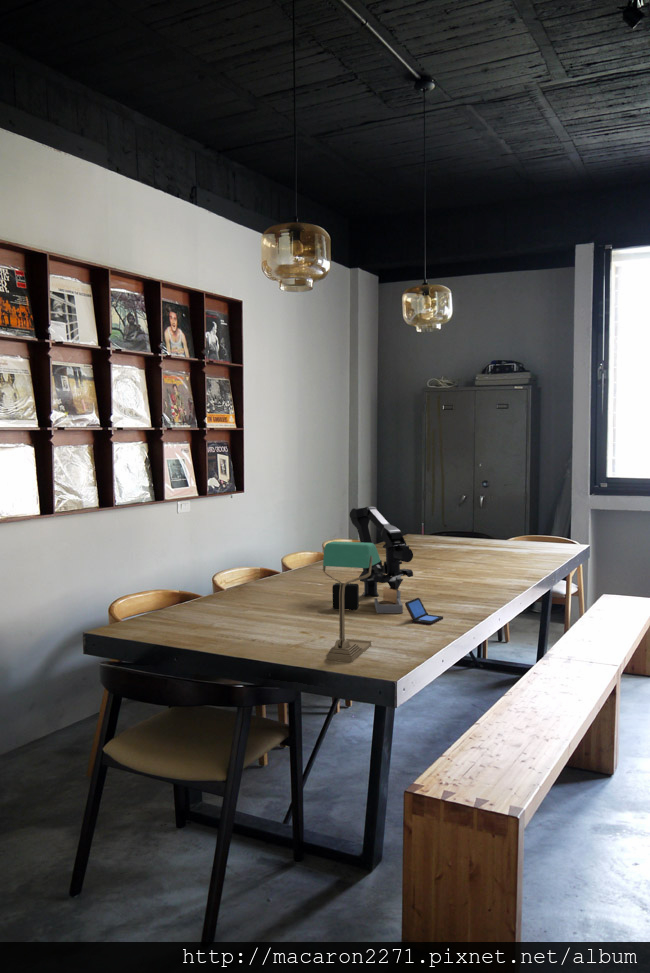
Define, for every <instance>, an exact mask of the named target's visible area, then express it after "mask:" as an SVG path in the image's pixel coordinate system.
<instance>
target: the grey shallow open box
mask: <svg viewBox="0 0 650 973" xmlns="http://www.w3.org/2000/svg"><path fill="white" fill-rule="evenodd" d="M379 602H380V601H379V600H378V598H375V597H374V608H375V611H376V613H377V614H403V613H404V606H403V603H402V601H400V599H399V598H396V604H395V603H392V604H388V603H385V604H381V603H379Z"/></svg>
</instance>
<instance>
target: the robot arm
mask: <svg viewBox="0 0 650 973" xmlns="http://www.w3.org/2000/svg"><path fill="white" fill-rule="evenodd" d="M349 518H350V521H351V523H352V525H353V526H354V527H355V528H356V531H357V533H358V538H359V542H362V543H373V541H372V537H371V533H370V529H369V524H370V521H371V522H372V524H374V526H375V527H376V528H377V529H378V531H379V532H380V536H381V539H382V540H383V542H384V544H383V545H382V548H383V549H385V561H383V563H382V560H381V561H380V562H378V563H377V564H375V565H373V566H372V568H371V575H370V576H369V577H367V578H364V579H360V580H359V582H362V583H364V584H363V587H364V588H363V592H362V595H363V596H364V597H379V595H380V594H379V592H378V583H381V584H386V583H387V584H388V586H389V588H392V589H396V590H399V588H400V586H401V584H402V583H403V581H404V579H403V578H402V577H404V576H407V578H411V577H414V571H413V570H412V569H409V568H401V565H403V562H404V563H410V562H411V561H412V560H413V557H414V553H413V549H411V548H410V545H407V542H406V540H405V538H404V535H403V533H402V531H401V530H400V529H399V528H397V527H396V526H395V525H393V524H390V522H388V520H386V519H385V517H384V516H383V515H382V514H381V513H380V512H379V511H378V509H377V507H376V506H370V505H369V506H365V507H356V508H354V507H353V508H352V509H350V511H349ZM368 573H369V568H362V572H361V573H360V575H359V577H361V576H364V575H366V574H368Z"/></svg>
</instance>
